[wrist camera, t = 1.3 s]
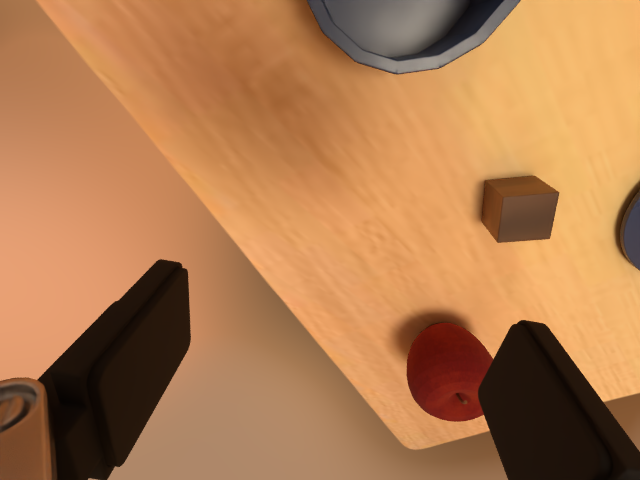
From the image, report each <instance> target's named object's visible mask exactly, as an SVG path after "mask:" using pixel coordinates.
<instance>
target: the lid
mask: <svg viewBox="0 0 640 480" xmlns="http://www.w3.org/2000/svg"><path fill="white" fill-rule="evenodd" d="M620 241H621V246H622V250H623V252H624V254H625V256H626V258H627V259H628V260H629V261H630V262H631V264H633V265H634V266H635V267H636V268H638V269H639V270H640V190H639V192H638V193H637V194H636V196H635V197H634V198H633V200H632V201H631V203H630V205H629V207H628V208H627V210H626V213H625V215H624V218H623V220H622V225H621V230H620Z"/></svg>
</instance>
